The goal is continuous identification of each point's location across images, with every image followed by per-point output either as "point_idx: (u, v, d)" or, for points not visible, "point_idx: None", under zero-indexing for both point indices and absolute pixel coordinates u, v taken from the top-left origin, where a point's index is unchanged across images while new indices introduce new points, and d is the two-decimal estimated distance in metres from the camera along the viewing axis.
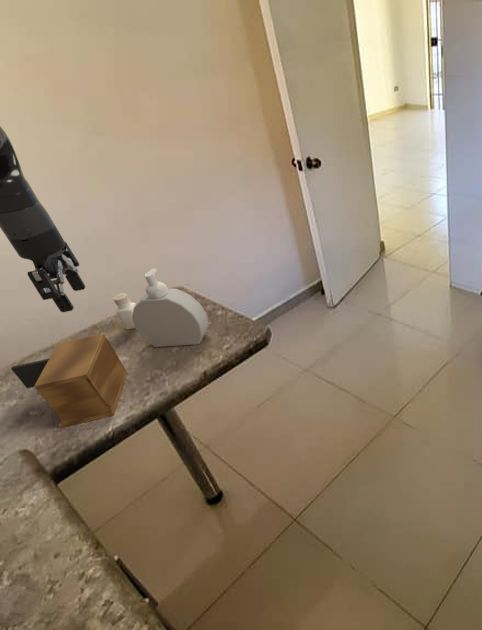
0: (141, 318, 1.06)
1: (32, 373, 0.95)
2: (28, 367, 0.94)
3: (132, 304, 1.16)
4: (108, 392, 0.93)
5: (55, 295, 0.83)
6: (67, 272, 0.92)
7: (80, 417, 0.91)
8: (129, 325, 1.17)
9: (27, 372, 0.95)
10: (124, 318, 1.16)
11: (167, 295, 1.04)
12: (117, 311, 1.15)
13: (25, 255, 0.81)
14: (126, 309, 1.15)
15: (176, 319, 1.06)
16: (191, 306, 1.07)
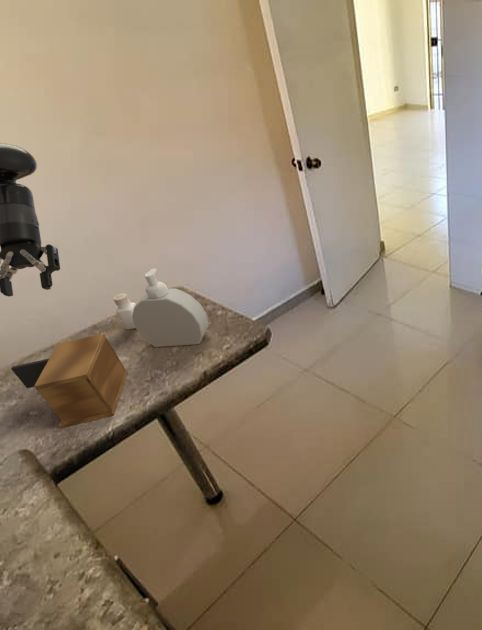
0: (141, 318, 1.06)
1: (32, 373, 0.95)
2: (28, 367, 0.94)
3: (132, 304, 1.16)
4: (108, 392, 0.93)
5: (59, 267, 1.05)
6: (5, 277, 1.02)
7: (80, 417, 0.91)
8: (129, 325, 1.17)
9: (27, 372, 0.95)
10: (124, 318, 1.16)
11: (167, 295, 1.04)
12: (117, 311, 1.15)
13: (32, 236, 1.03)
14: (126, 309, 1.15)
15: (176, 319, 1.06)
16: (191, 306, 1.07)
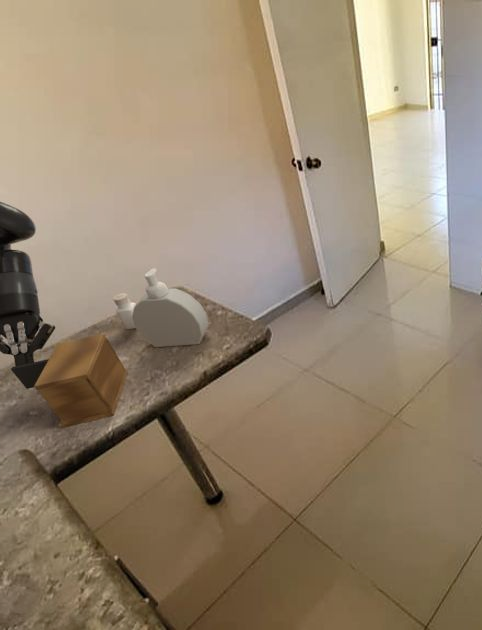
0: (141, 318, 1.06)
1: (32, 374, 0.95)
2: (28, 368, 0.94)
3: (132, 304, 1.16)
4: (108, 392, 0.93)
5: (42, 347, 0.98)
6: (20, 351, 0.96)
7: (80, 417, 0.91)
8: (129, 325, 1.17)
9: (27, 373, 0.95)
10: (124, 318, 1.16)
11: (167, 295, 1.04)
12: (117, 311, 1.15)
13: (31, 307, 0.97)
14: (126, 309, 1.15)
15: (176, 319, 1.06)
16: (191, 306, 1.07)
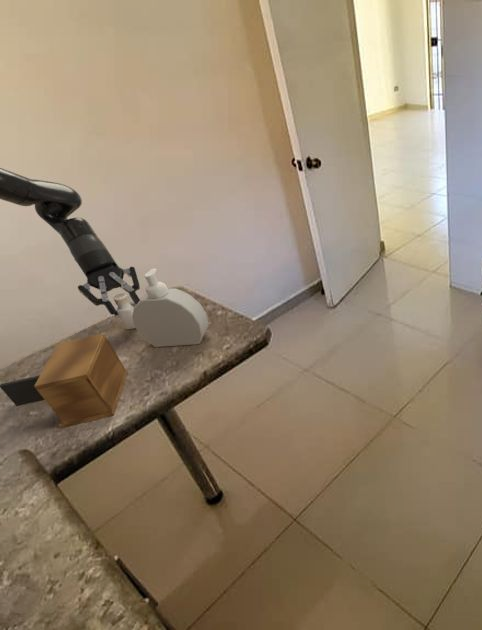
0: (141, 318, 1.06)
1: (22, 391, 0.91)
2: (18, 384, 0.90)
3: (132, 304, 1.16)
4: (108, 392, 0.93)
5: None
6: (107, 299, 1.13)
7: (80, 417, 0.91)
8: (129, 325, 1.17)
9: (17, 390, 0.90)
10: (124, 318, 1.16)
11: (167, 295, 1.04)
12: (117, 311, 1.15)
13: (113, 260, 1.16)
14: (126, 309, 1.15)
15: (176, 319, 1.06)
16: (191, 306, 1.07)
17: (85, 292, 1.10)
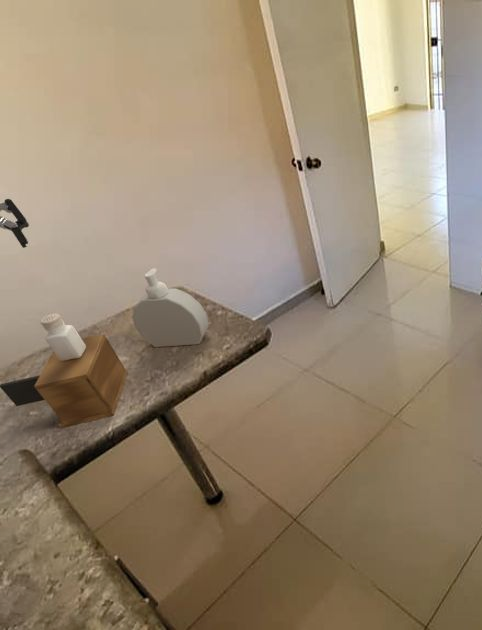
0: (141, 318, 1.06)
1: (22, 391, 0.91)
2: (18, 384, 0.90)
3: (68, 327, 0.88)
4: (108, 392, 0.93)
5: None
6: None
7: (80, 417, 0.91)
8: (65, 355, 0.89)
9: (17, 390, 0.90)
10: (57, 346, 0.87)
11: (167, 295, 1.04)
12: (47, 338, 0.86)
13: None
14: (58, 335, 0.86)
15: (176, 319, 1.06)
16: (191, 306, 1.07)
17: None
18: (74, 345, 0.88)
